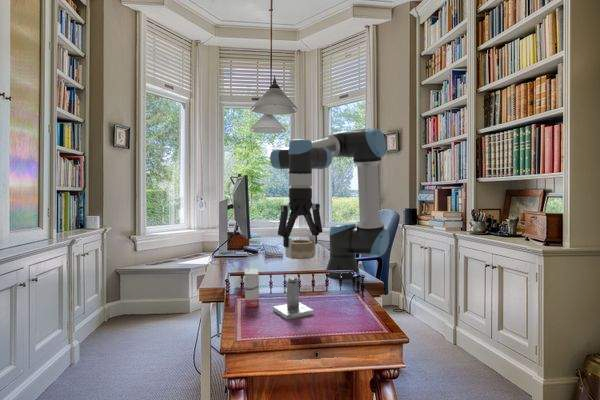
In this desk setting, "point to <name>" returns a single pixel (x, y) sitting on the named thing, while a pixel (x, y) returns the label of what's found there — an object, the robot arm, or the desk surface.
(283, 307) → the post
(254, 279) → the ink box
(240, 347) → the desk surface
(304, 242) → the collar
